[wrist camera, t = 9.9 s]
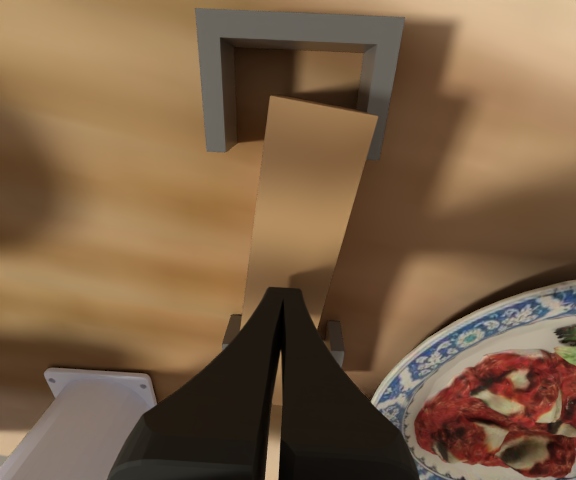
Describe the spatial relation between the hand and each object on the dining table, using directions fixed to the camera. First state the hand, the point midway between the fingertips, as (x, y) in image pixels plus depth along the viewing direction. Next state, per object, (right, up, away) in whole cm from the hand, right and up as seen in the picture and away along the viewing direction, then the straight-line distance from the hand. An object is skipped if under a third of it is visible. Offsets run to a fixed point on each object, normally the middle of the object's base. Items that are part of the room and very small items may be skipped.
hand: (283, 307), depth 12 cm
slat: (0, +3, +5) cm, 6 cm away
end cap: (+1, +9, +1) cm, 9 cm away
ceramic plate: (+19, -10, +11) cm, 24 cm away
